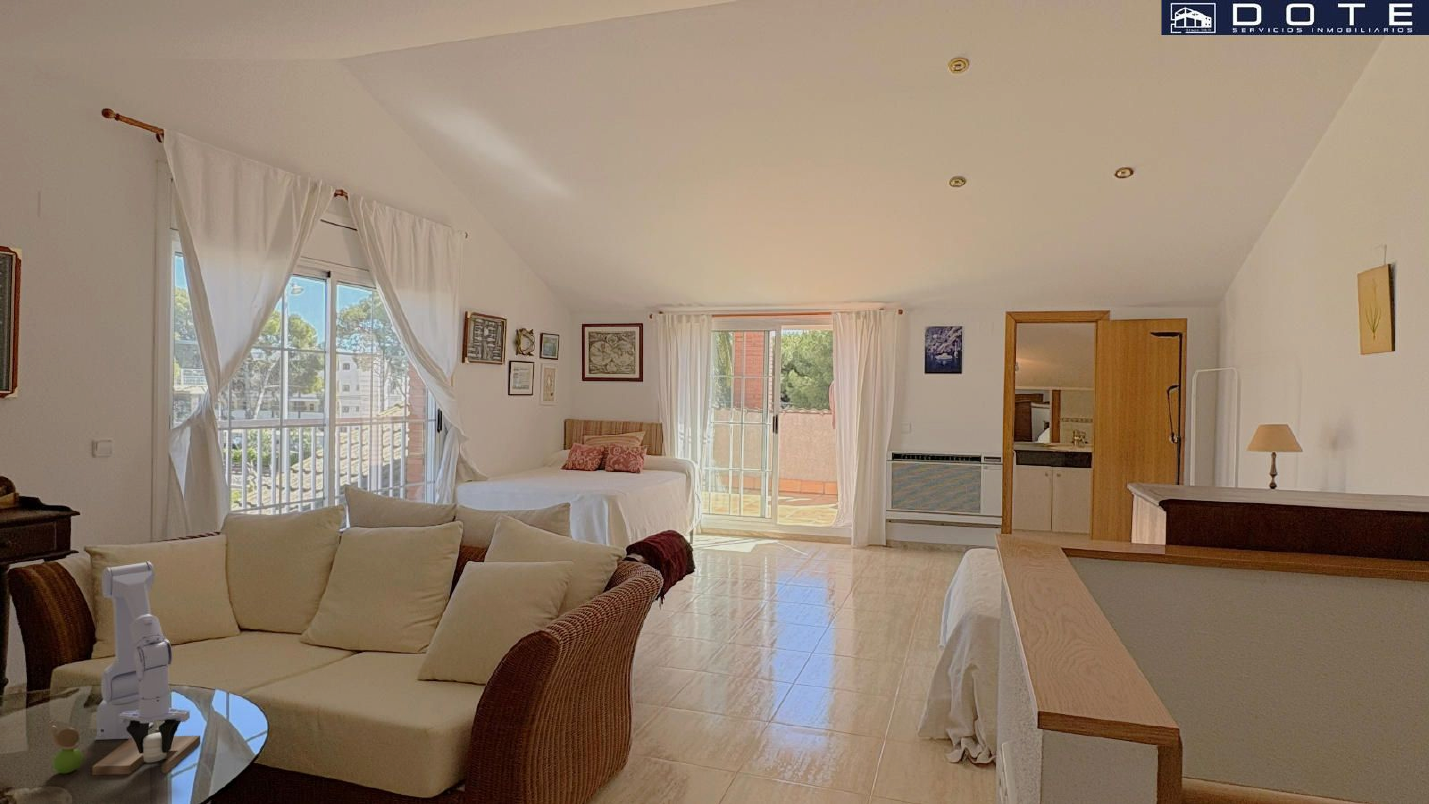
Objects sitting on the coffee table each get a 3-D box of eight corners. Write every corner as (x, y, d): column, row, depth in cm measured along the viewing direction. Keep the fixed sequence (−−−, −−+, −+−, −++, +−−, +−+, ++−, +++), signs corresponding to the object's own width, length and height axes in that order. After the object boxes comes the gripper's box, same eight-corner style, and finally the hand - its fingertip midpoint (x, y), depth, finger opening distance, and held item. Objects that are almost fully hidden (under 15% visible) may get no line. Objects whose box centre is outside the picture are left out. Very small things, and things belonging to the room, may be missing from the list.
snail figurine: (59, 766, 185) (58, 715, 184) (88, 765, 185) (87, 715, 184) (42, 778, 179) (40, 726, 178) (72, 777, 180) (70, 726, 179)
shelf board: (92, 775, 181) (92, 766, 181) (131, 745, 195) (131, 737, 195) (166, 772, 183) (166, 764, 182) (200, 743, 196) (200, 735, 196)
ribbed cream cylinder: (138, 763, 183) (138, 741, 183) (150, 753, 187) (150, 732, 187) (160, 762, 183) (159, 741, 183) (171, 752, 188) (170, 732, 188)
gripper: (109, 702, 180) (110, 760, 181) (177, 701, 181) (178, 758, 182) (129, 689, 187) (130, 745, 188) (194, 688, 188) (195, 743, 189)
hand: (155, 751), depth 185 cm, fingers closed on ribbed cream cylinder, 5 cm apart
